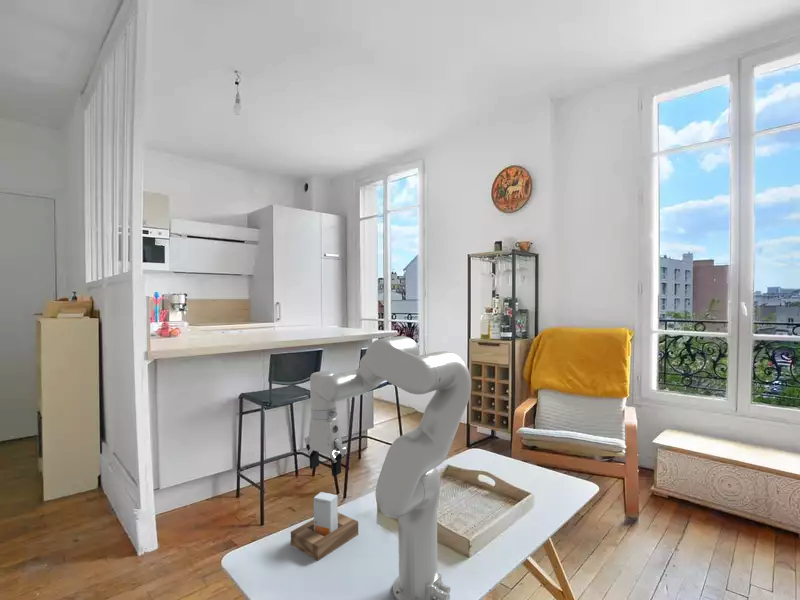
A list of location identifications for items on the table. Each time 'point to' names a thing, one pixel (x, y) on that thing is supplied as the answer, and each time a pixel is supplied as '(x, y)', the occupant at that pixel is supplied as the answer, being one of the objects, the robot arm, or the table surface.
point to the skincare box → (325, 513)
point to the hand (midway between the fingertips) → (325, 470)
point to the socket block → (323, 537)
